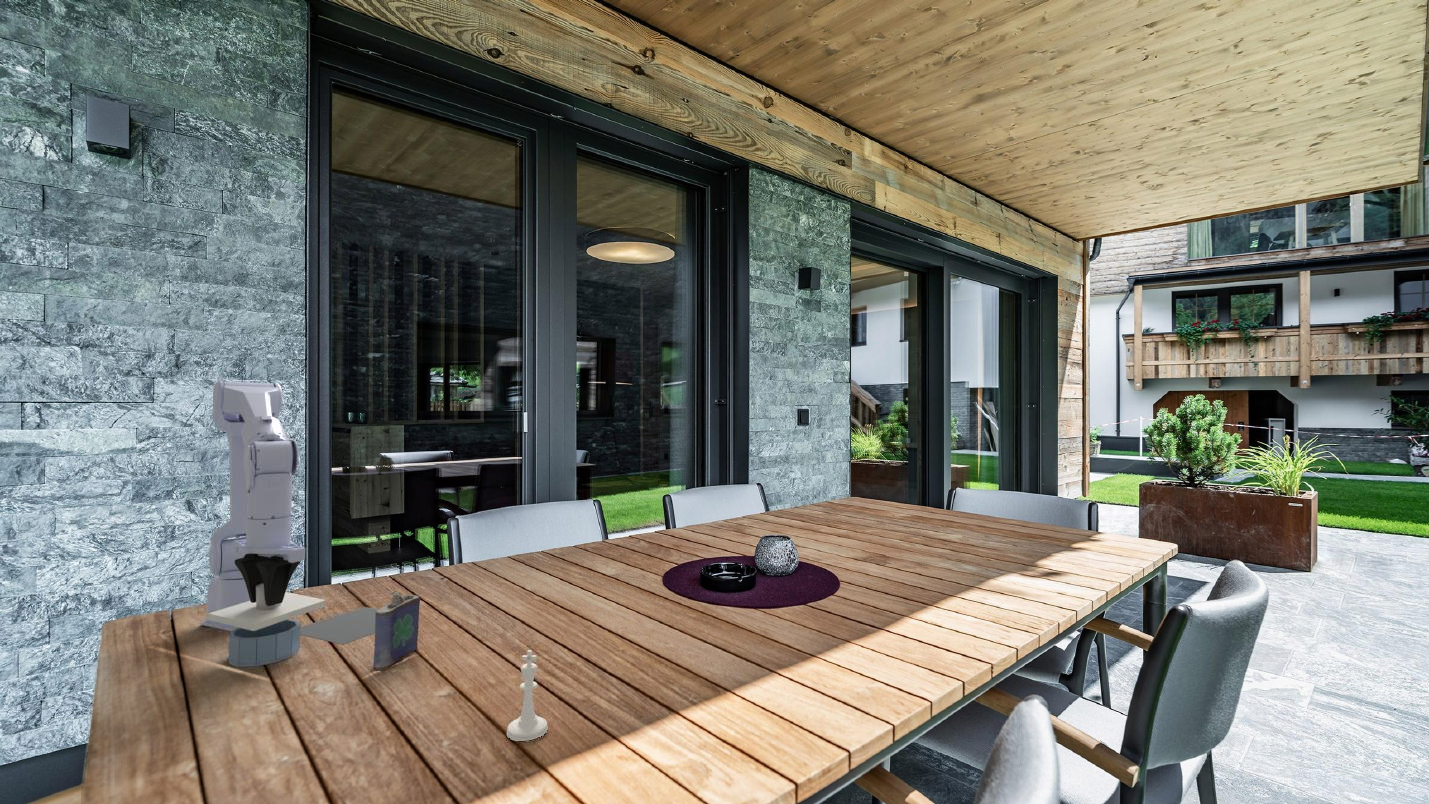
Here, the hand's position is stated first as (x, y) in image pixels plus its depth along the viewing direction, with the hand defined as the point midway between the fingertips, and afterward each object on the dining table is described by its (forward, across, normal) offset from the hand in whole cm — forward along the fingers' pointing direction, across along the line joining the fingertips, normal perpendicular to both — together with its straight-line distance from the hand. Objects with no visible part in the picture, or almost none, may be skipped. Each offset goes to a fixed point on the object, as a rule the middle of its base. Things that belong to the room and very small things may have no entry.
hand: (266, 602), depth 97 cm
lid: (+2, 0, 0) cm, 2 cm away
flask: (+9, +19, +8) cm, 22 cm away
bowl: (+9, 0, 0) cm, 9 cm away
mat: (+9, 0, +16) cm, 18 cm away
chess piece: (+9, +52, -1) cm, 53 cm away
